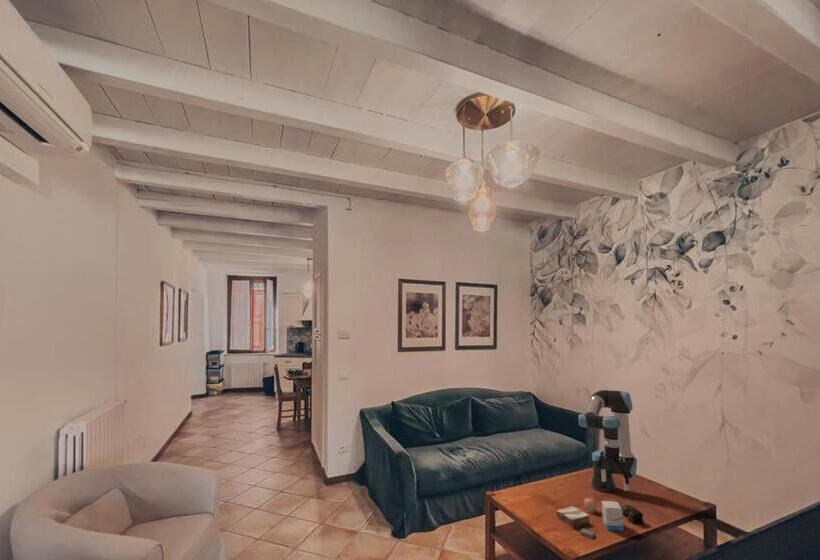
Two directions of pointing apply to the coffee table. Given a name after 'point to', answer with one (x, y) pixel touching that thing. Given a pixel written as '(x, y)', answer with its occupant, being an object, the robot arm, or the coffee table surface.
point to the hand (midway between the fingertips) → (614, 485)
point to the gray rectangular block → (587, 533)
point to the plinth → (573, 516)
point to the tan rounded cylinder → (590, 505)
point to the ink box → (612, 515)
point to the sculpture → (632, 514)
